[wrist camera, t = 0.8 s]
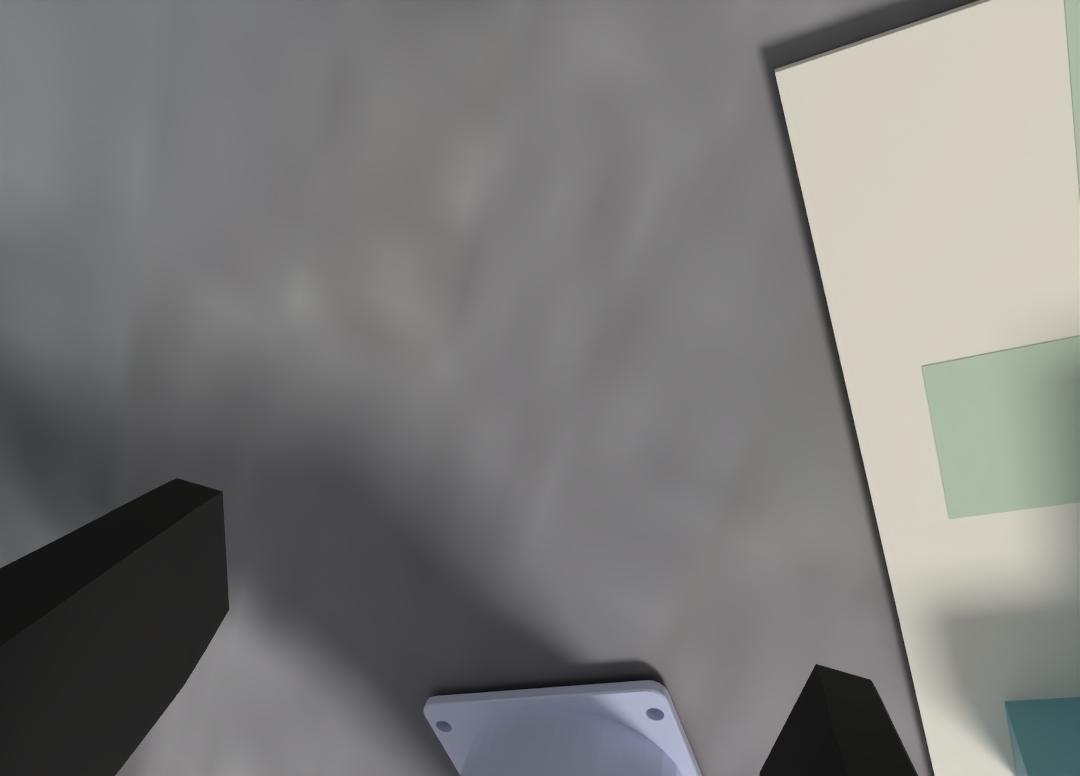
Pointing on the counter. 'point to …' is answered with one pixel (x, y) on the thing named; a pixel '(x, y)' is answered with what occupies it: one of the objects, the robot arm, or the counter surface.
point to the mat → (960, 340)
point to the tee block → (1045, 736)
